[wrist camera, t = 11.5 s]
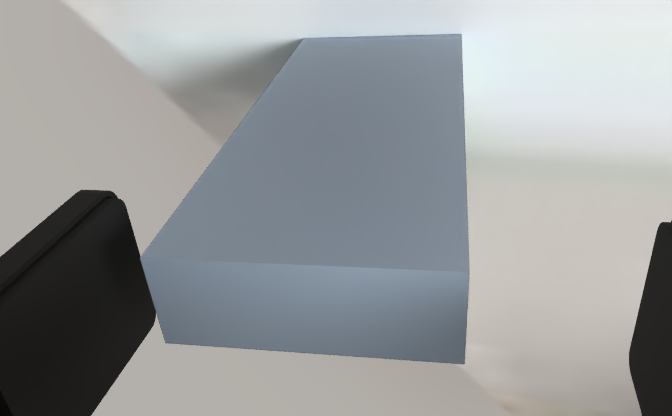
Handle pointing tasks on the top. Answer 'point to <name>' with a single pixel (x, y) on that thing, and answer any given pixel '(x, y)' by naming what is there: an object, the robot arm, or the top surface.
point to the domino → (331, 212)
